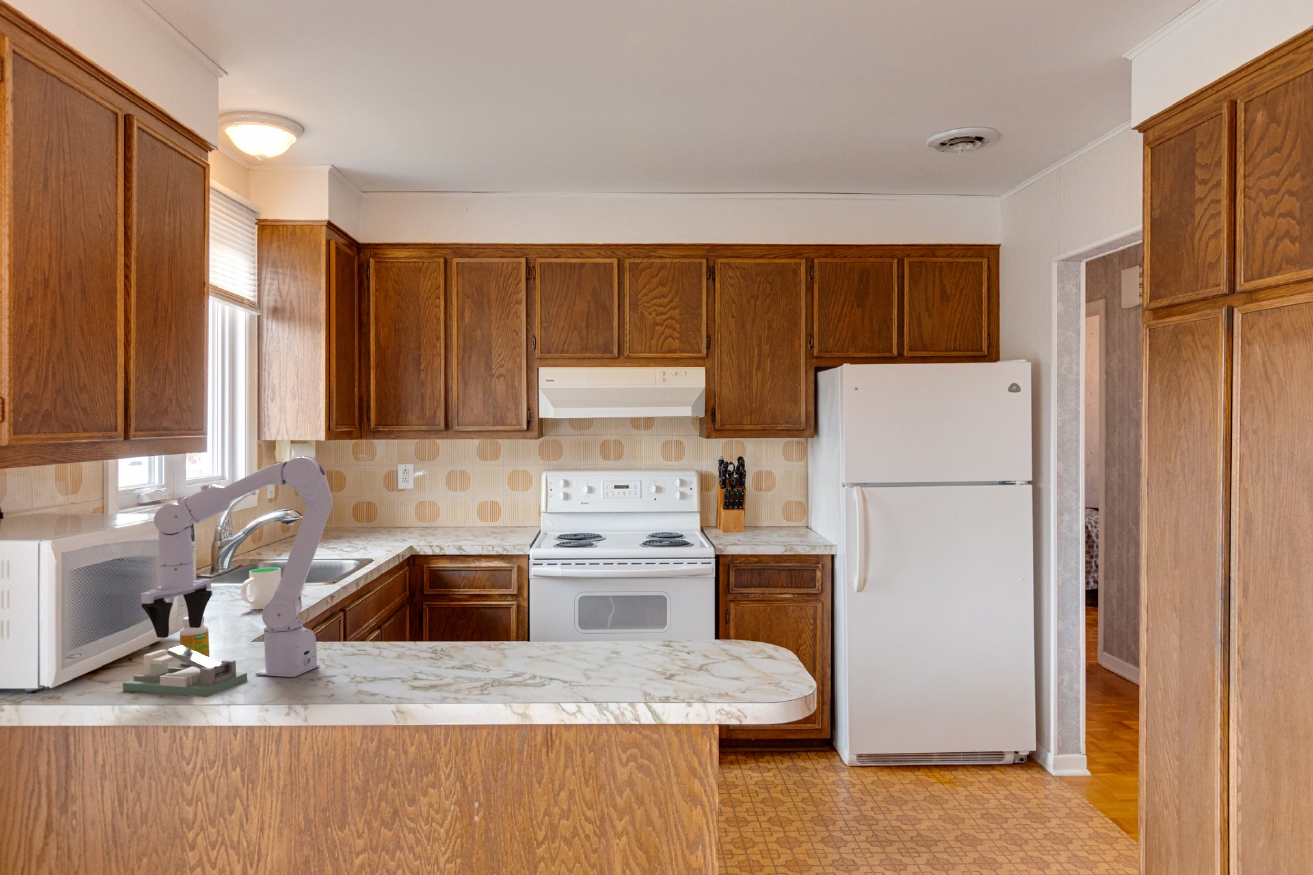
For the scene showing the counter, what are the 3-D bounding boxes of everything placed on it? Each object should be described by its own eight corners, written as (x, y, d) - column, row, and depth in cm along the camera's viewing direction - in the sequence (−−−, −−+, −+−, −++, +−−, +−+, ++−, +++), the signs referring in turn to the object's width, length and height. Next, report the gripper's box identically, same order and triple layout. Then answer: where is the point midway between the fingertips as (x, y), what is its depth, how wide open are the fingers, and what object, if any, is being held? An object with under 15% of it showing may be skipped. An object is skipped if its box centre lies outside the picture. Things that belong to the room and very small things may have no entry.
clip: (179, 673, 164) (178, 650, 164) (162, 679, 160) (161, 656, 160) (162, 671, 165) (161, 649, 165) (144, 678, 161) (143, 655, 161)
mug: (256, 613, 224) (255, 575, 224) (232, 612, 227) (231, 574, 226) (288, 604, 236) (286, 567, 236) (265, 603, 238) (263, 567, 238)
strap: (228, 673, 160) (230, 664, 160) (213, 678, 157) (215, 669, 157) (181, 651, 163) (183, 643, 163) (165, 656, 160) (167, 647, 160)
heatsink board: (247, 680, 163) (246, 657, 163) (206, 697, 153) (205, 673, 153) (167, 674, 169) (166, 652, 169) (123, 690, 159) (122, 667, 159)
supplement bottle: (196, 665, 175) (195, 620, 174) (174, 665, 176) (173, 619, 176) (215, 658, 180) (213, 614, 180) (193, 658, 181) (192, 614, 181)
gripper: (190, 557, 171) (193, 622, 171) (127, 570, 157) (130, 640, 158) (218, 558, 169) (220, 623, 169) (156, 570, 155) (159, 642, 155)
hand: (179, 632), depth 163 cm, fingers open, 7 cm apart
